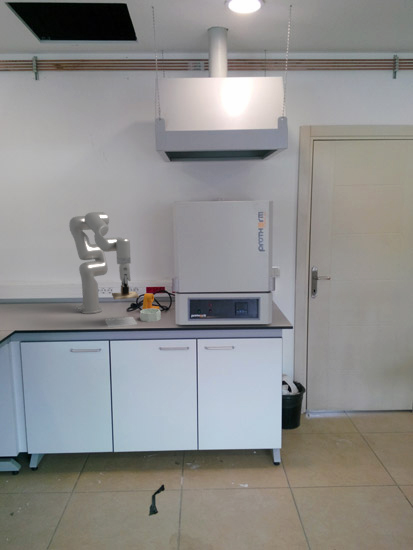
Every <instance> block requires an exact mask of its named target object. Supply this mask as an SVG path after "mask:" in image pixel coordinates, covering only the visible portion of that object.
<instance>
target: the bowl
mask: <svg viewBox="0 0 413 550" xmlns="http://www.w3.org/2000/svg"><path fill="white" fill-rule="evenodd" d="M142 309H143V308H142ZM142 309H141V310H139V320H140V321H141V322H147V323H151V322H158V321H160V320H161V319H162V318H161V317H162V315H161V314H162V313H161V310H160V308H159V309H154V308H150V309H143V310H142Z"/></svg>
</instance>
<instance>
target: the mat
mask: <svg viewBox="0 0 413 550" xmlns="http://www.w3.org/2000/svg"><path fill="white" fill-rule="evenodd" d="M104 321H105V323H106V326H107V328H115V327H118V328H119V327H124V326H125V327H126V326H134V325H138V322H137V321H136V319H135V318H134V317H133V316H129V317H128V316H127V317H117V318H108V319H107V318H106V319H104Z"/></svg>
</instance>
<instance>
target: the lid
mask: <svg viewBox="0 0 413 550" xmlns="http://www.w3.org/2000/svg"><path fill="white" fill-rule="evenodd" d="M122 287H123V285H122V284H121V285H120V291H119V292H111V296H112V297H113V300H125V299H137V298H139V299H140V295H139V294H138V293H137V291H129V294H123V288H122ZM128 289H129V290H130V286H129V285H128Z"/></svg>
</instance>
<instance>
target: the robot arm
mask: <svg viewBox="0 0 413 550" xmlns="http://www.w3.org/2000/svg"><path fill="white" fill-rule="evenodd" d="M109 224H110V217H109V216H108V214H107V213H106V212H100V211H98V212H94V211H93V212H92V211H91V212H88V213H86V214H85V215H79V216H77V215H76V216H73V217H71V219H70V220H69V225H68V227H69V231H70V234H71V236H72V238H73V239H74V243H75V247H76V251H77V255H78V258H79V259H80V260H81V261H87V262H82V263H81V264H80V265H79V268H78V271H79V274H80V275H79V276H80V279H81V290H82V305H76V306H75V310H78V311H79V310H80V313H81V314H85V315H88V314H91V315H92V314H97V313H100V312H102V310H103V308H102V307H100V299H99V297H100V296H99V284H98V283H99V282H98V281H97V280H96V278H95V277H98V276H99V277H100V276H104V275H107V273H108V262H107V260H106V256H105V252H108V253H109V252H116V264H117V265H118V271H119V279H120V281H121V285H123V287H122V288H123V294H129V292H130V288H129V289H128V286H129V282H131V280H132V279H131V271H130V264H131V263H132V261H131V260H132V259H131V242H130V239H129V238H122V237H105V236H106V235H107V234H108V232H109ZM86 230H87V231H88V230H89V231H90V230H91V231H92V232H93V233H94V236H93V237H94V242H95V243H94V244H91V243H90V238H89V237H88V234H87V233H85V231H86ZM90 260H91V261H90ZM92 260H93V261H92Z"/></svg>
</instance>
